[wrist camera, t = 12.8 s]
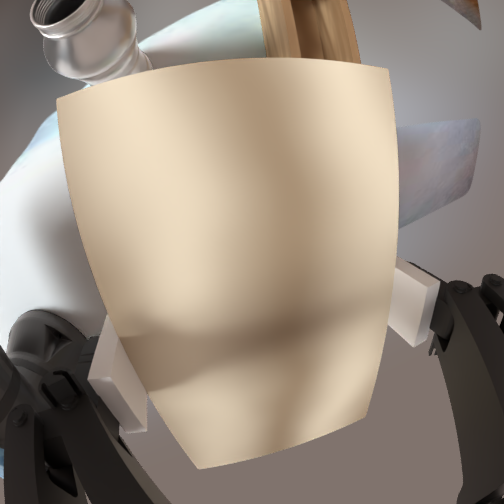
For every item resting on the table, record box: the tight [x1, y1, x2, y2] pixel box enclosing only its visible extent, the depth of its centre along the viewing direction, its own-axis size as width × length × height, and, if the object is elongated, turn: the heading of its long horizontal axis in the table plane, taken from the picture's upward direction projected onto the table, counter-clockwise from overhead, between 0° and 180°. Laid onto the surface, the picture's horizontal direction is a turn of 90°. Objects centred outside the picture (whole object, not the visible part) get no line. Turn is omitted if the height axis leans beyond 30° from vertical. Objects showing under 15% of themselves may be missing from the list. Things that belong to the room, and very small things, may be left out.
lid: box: [56, 58, 399, 469], centre depth 10 cm, size 10×17×2 cm, turn 8°
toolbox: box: [257, 0, 361, 64], centre depth 22 cm, size 10×22×12 cm, turn 7°
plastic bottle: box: [30, 0, 153, 86], centre depth 15 cm, size 6×7×20 cm
